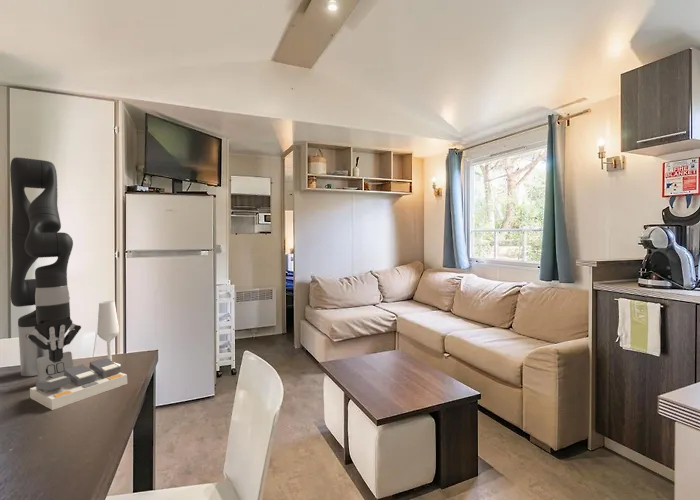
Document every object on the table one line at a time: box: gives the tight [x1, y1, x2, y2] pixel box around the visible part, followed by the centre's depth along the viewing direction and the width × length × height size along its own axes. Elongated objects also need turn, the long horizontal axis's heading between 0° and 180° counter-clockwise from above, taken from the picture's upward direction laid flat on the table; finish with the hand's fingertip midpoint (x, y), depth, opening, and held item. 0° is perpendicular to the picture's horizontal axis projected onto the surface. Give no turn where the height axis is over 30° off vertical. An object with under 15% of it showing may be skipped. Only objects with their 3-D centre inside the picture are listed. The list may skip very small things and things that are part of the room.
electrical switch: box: [36, 351, 74, 382], centre depth 120 cm, size 9×5×9 cm, turn 141°
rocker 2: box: [88, 357, 121, 378], centre depth 118 cm, size 9×5×2 cm, turn 60°
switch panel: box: [29, 369, 129, 411], centre depth 112 cm, size 15×20×4 cm
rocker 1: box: [35, 376, 70, 390], centre depth 106 cm, size 9×5×2 cm, turn 59°
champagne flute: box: [96, 300, 121, 367], centre depth 132 cm, size 7×7×24 cm
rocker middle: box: [64, 364, 97, 386], centre depth 112 cm, size 9×5×2 cm, turn 60°
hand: (56, 361), depth 104 cm, fingers closed
